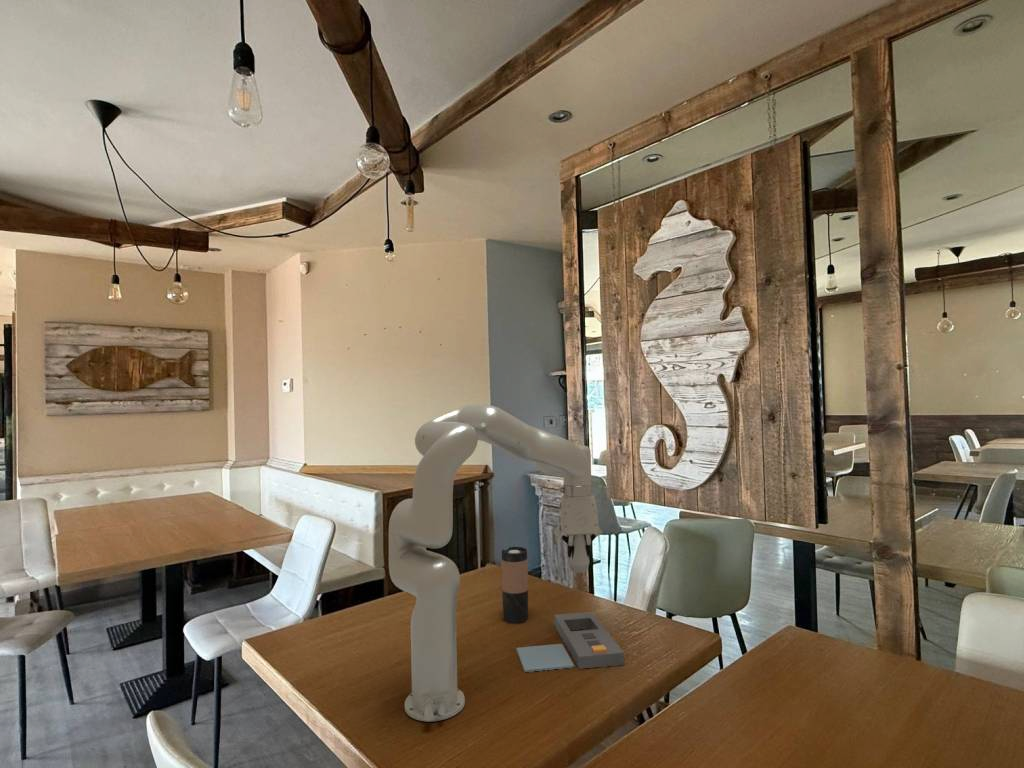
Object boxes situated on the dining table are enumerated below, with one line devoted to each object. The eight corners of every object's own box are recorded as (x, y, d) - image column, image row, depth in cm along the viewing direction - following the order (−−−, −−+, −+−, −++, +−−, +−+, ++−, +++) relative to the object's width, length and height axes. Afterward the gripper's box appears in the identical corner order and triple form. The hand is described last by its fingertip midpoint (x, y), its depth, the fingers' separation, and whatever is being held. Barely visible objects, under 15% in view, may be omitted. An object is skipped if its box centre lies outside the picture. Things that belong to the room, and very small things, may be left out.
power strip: (623, 665, 133) (623, 649, 133) (579, 669, 131) (579, 653, 131) (592, 622, 159) (591, 608, 159) (554, 625, 157) (554, 612, 157)
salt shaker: (588, 574, 147) (588, 525, 147) (567, 573, 148) (566, 524, 148) (590, 568, 152) (589, 520, 153) (569, 567, 154) (568, 519, 154)
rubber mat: (574, 668, 132) (574, 665, 132) (524, 672, 130) (524, 670, 130) (562, 646, 144) (562, 643, 144) (516, 650, 142) (516, 647, 142)
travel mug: (528, 624, 158) (527, 553, 159) (502, 624, 159) (500, 553, 159) (528, 613, 166) (527, 546, 167) (503, 613, 166) (501, 546, 167)
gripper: (551, 494, 146) (552, 565, 145) (610, 492, 148) (612, 561, 148) (545, 490, 153) (546, 557, 153) (602, 487, 156) (603, 553, 155)
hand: (578, 558), depth 150 cm, fingers closed on salt shaker, 3 cm apart
